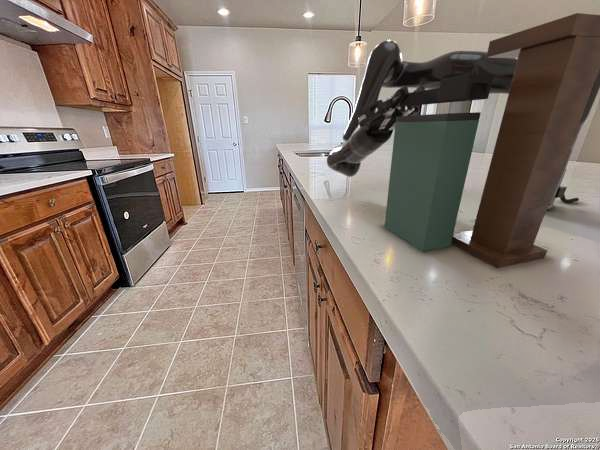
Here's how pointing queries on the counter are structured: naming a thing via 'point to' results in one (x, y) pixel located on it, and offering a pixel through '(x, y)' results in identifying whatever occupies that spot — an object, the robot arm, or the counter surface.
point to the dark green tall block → (429, 176)
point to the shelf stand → (533, 135)
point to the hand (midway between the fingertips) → (414, 90)
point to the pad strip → (453, 90)
